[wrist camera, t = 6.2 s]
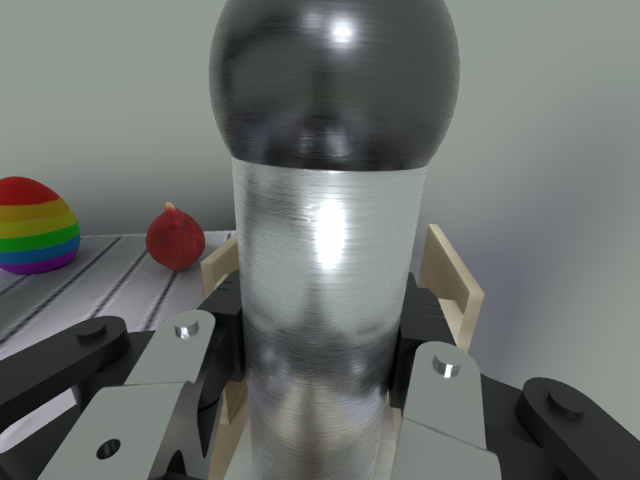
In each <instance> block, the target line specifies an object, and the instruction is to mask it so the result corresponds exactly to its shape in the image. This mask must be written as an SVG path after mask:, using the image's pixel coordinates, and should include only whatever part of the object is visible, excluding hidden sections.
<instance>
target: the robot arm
mask: <svg viewBox="0 0 640 480" xmlns="http://www.w3.org/2000/svg"><path fill="white" fill-rule="evenodd" d="M245 374H246V361H245V346H244V332H243V317H242V302H241V288H240V273H239V269H237V270H235V271H234V272H232V273H230V274H229V275H228V276H227V277H226V278H225V279H224V280H223V282H222V283H220V285H219V286H218V287H217V288H216V290H214V291H213V292H212V293H211V294H210V295H209V296H208V298H207V299H206V300H205V301H204V302H203V303H202V304H201V305H200V306H199V307H198V308H197V309H196V310H188V311H183V312H179V313H177V314H174V315H172V316H170V317H168V318H167V319H166V320H164V321H163V322H162V323H161V324H160V325H159V327H158V328H157V330H154V331H143V332H132V333H128V332H127V328H126V324H125V321H124V320H123V319H122V318H120V317H116V316H101V317H95V318H91V319H88V320H85V321H82V322H80V323H78V324H76V325H73V326H71V327H69V328H67V329H65V330H63V331H61V332H59V333H57V334H55V335H53V336H51V337H49V338H46V339H44V340H42V341H40V342H38V343H36V344H34V345H32V346H30V347H28V348H26V349H24V350H22V351H19V352H17V353H15V354H13V355H11V356H9V357H7V358H5V359H3V360H1V361H0V434H1V433H2V432H3V431H4V430H5V429H7V428H8V427H9V426H10V425H12V424H13V423H15V422H16V421H18V420H20V419H21V418H23V417H24V416H26V415H28V414H29V413H31V412H32V411H34V410H36V409H37V408H39V407H40V406H42V405H43V404H45V403H47V402H48V401H50V400H51V399H53V398H55V397H56V396H58V395H59V394H61V393H63V392H64V391H66V390H67V389H69V388H70V387H71V389H72V392H73V395H74V398H75V400H76V403H77V404H76V405H74V406H73V407H71V408H70V409H68V410H67V411H65V412H64V413H62V414H61V415H60V416H58V417H57V418H55V419H54V420H52V421H51V422H49V423H48V424H46V425H45V426H43V427H42V428H40V429H39V430H37V431H36V432H35V433H33V434H32V435H30V436H29V437H27V438H26V439H24V440H23V441H21V442H20V443H18V444H17V445H15V446H14V447H12V448H11V449H9V450H8V451H6V452H4V453H1V454H0V480H208V475H209V468H210V462H211V458H212V453H213V448H214V443H215V439H216V434H217V429H218V424H219V420H220V415H221V410H222V406H223V400H224V396H223V390H224V388H225V386H226V384H227V382H228V381H235V382H242V380H243V378H244V376H245ZM388 391H389V405H390V407H392V408H398V409H401V418H402V421H401V426H400V431H399V436H398V441H397V446H396V451H395V456H394V461H393V466H392V470H391V475H390V480H640V441H639V440H637V439H636V438H635V437H634V436H633V435H632V434H631V433H629V432H628V431H627V430H626V429H625V428H624V427H622V426H621V425H620V424H619V423H618V422H617V421H616V420H614V419H613V418H612V417H611V416H610V415H608V414H607V413H606V412H605V411H604V410H603V409H602V408H600V407H599V406H598V405H597V404H596V403H595V402H593V401H592V400H591V399H590V398H588V397H587V396H586V395H584V394H583V393H581V392H580V391H578V390H576V389H574V388H573V387H571V386H569V385H567V384H564V383H562V382H559V381H556V380H553V379H549V378H542V377H538V378H532V379H529V380H527V381H526V382H525V384H524V386H523V389H522V390H520V389H517V388H515V387H512V386H509V385H507V384H504V383H501V382H498V381H496V380H493V379H491V378H489V377H487V376H484V375H483V374H481V373H480V370H479V367H478V365H477V363H476V362H475V360H474V359H473V358H472V357H471V356H470V355H469V354H468V353H466V352H465V351H463V350H462V349H460V348H458V347H457V345H456V343H455V340H454V338H453V335H452V333H451V330H450V328H449V325H448V323H447V320H446V318H445V315H444V313H443V310H442V309H441V305H440V303H439V300H438V298H437V297H436V296H435V295H434V294H433V293H432V292H431V291H430V290H429V289H428V288H420V287H417V285H416V282H415V278H414V275H413V273H412V272H408V278H407V284H406V290H405V296H404V301H403V307H402V313H401V319H400V324H399V330H398V336H397V342H396V348H395V353H394V359H393V365H392V371H391V377H390V382H389V388H388Z"/></svg>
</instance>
